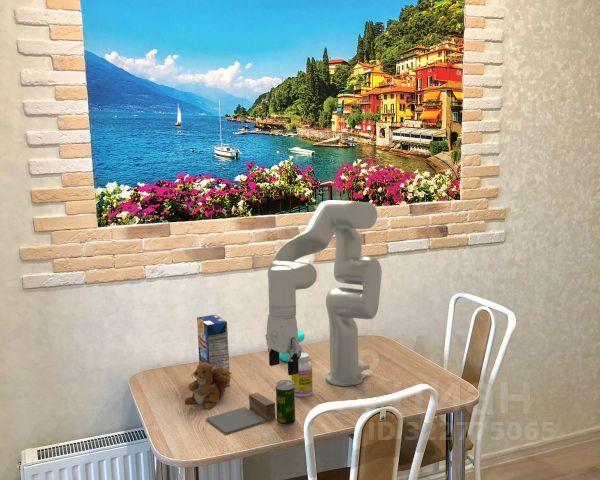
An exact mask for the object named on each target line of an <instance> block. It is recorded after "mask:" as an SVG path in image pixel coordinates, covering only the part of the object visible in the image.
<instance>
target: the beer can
mask: <svg viewBox="0 0 600 480" xmlns="http://www.w3.org/2000/svg"><path fill="white" fill-rule="evenodd" d="M275 401H276V402H275V411H276V423H277V424H278V425H279V426H280V427H286V428H287V427H291V426H294V425H295V423H296V397H295V386H294V383H293V381H292V379H291V380H289V379H282V380H281V379H280V380H278V381H277V382H276V384H275Z"/></svg>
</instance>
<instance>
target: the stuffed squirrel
mask: <svg viewBox="0 0 600 480" xmlns="http://www.w3.org/2000/svg"><path fill="white" fill-rule="evenodd" d="M231 375H232V372H230V370H229V371H228V370H227V369H224V368H217V369H215V365H213V366H211V365H210V364H208V363H204V362H202V361H199V360H198V365H197V367H196V369H195V371H193V373H192V374H190V377H191V379H192V380H193V378H195V379H196V380H195V381H193V382H191V383H190V384H189V385H188V390H189V392H193V393H192V395H191V396H188V397H186V398H185V399H184V401H183V402H184V403H185V404H186V405H189V404H198V405H200V406H203V407H204V408H205V410H210V409H212V408H214V407H216V406H217V405H218V402H219V400H220V399H221V398H222V397H223V396H224V393H225V392H226V389H225V388H226V386H227V385H226V384H227V383H228V382H229V381H230V382H231V379H232V378H231V377H232V376H231ZM227 387H228V386H227Z"/></svg>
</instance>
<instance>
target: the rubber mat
mask: <svg viewBox="0 0 600 480" xmlns="http://www.w3.org/2000/svg"><path fill="white" fill-rule="evenodd" d="M205 420H206V421H207V422H208V423H210V424H211V425H212V426H213V427H214V428H216V429H217V430H219V432H221V433H223V434H224V435H229V434H232V433H235V432H239V431H242V430H245V429H248V428H251V427H255V426H258V425H261V424H264V423H266V422H267V420H266V419H264V418H263V417H261V416H260V415H258V414H257V413H255V412H254V411H252V410H250V408H249V407H247V406H243V407H239V408H236V409H232V410H228V411H227V412H221V413H219V414H215V415H212V416H208V417H206V419H205Z"/></svg>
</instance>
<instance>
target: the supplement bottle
mask: <svg viewBox="0 0 600 480" xmlns="http://www.w3.org/2000/svg"><path fill="white" fill-rule="evenodd" d="M309 359H310V355H309V353H306V352H305V353H301V356H300V359H299V360H298V367H299V372H298V374H294V375H291V381H293V383H294V386H295V396H296V397H299V398H301V397H302V398H305V397H309V396H311V395H312V394H313V365H312V362H311V361H309Z"/></svg>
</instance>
